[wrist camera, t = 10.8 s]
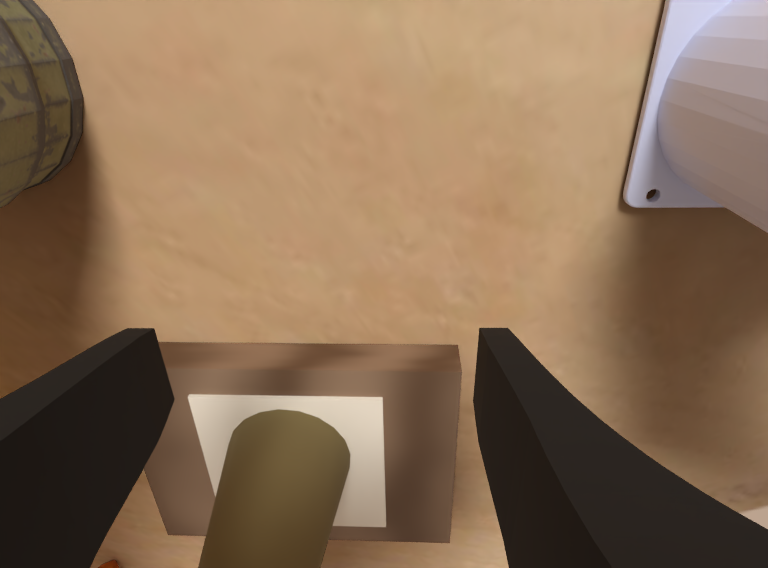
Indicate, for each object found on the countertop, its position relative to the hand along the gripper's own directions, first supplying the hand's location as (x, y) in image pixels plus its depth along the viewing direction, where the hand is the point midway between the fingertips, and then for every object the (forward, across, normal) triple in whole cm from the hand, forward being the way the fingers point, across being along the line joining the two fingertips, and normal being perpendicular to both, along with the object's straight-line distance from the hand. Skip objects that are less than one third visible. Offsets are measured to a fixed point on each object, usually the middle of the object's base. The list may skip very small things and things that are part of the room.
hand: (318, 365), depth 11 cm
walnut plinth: (+10, +4, +13) cm, 17 cm away
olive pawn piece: (+8, +4, +12) cm, 15 cm away
